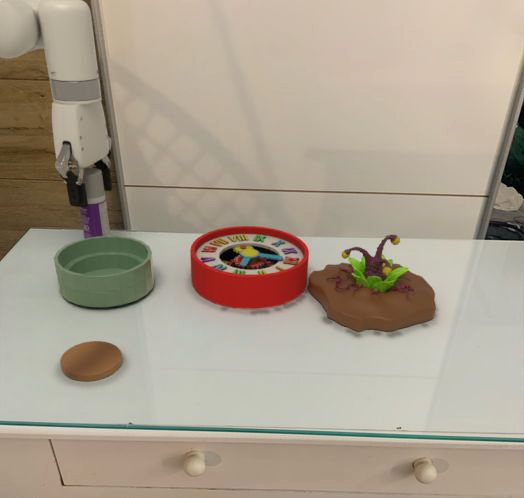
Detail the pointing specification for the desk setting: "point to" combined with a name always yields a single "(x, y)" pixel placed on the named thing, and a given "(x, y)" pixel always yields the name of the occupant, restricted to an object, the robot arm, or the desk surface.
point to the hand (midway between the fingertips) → (91, 197)
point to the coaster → (91, 361)
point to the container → (94, 205)
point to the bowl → (104, 271)
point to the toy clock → (249, 267)
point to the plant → (373, 292)
